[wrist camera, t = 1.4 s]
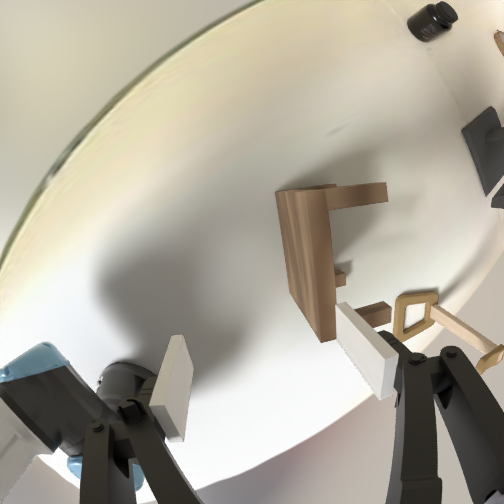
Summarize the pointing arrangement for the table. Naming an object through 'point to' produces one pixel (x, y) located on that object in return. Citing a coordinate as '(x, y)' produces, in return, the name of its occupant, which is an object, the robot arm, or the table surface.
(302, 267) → the stool
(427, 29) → the supplement bottle
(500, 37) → the alarm clock
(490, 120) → the computer monitor
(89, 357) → the table surface
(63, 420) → the robot arm
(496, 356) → the headphone stand
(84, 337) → the table surface
